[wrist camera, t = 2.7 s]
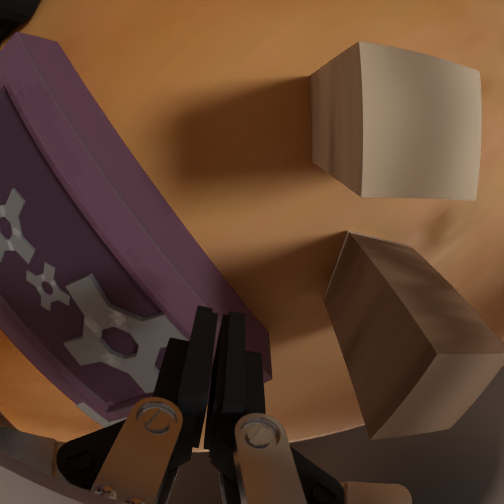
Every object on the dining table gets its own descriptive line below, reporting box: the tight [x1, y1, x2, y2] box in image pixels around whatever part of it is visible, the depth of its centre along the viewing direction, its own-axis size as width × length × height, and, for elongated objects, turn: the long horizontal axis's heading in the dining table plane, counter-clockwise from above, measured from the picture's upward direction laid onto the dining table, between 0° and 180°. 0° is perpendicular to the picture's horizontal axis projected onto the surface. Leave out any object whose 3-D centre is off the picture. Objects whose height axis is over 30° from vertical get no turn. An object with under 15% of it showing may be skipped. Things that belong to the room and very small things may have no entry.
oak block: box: [310, 41, 482, 201], centre depth 11 cm, size 5×5×8 cm
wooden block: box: [323, 231, 504, 440], centre depth 14 cm, size 5×5×11 cm
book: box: [0, 32, 272, 428], centre depth 17 cm, size 25×16×5 cm, turn 33°
